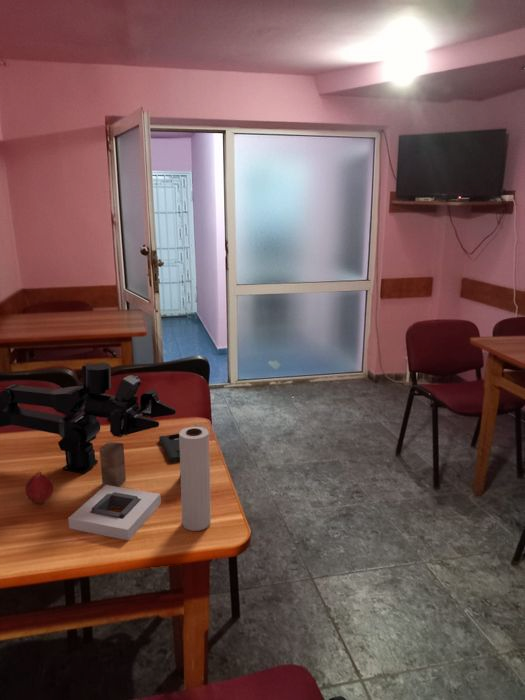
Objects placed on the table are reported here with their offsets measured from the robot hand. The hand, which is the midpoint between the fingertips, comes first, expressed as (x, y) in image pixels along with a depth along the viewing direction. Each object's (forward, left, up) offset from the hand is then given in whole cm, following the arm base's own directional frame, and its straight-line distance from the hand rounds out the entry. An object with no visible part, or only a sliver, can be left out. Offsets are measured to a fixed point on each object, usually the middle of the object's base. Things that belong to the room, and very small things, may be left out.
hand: (167, 418), depth 124 cm
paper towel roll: (+14, -14, -17) cm, 26 cm away
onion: (-23, -18, -17) cm, 34 cm away
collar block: (-4, -17, -17) cm, 24 cm away
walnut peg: (-12, -5, -17) cm, 21 cm away
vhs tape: (-5, +16, -17) cm, 24 cm away
